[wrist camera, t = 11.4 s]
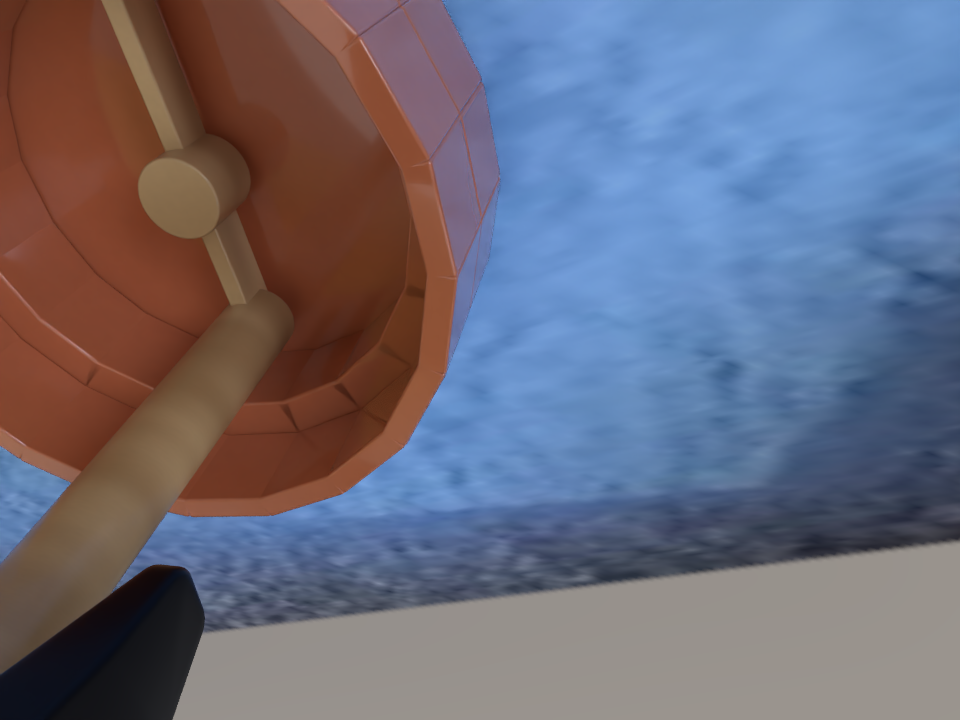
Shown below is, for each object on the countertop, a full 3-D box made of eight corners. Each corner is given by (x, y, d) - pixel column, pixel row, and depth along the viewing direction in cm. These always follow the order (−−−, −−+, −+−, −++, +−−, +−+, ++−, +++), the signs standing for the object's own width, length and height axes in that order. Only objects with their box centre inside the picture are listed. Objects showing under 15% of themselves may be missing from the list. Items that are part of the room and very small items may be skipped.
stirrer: (95, -20, 18) (-1257, 363, 5) (172, -38, 17) (-1119, 337, 5) (247, 341, 23) (-255, 984, 10) (311, 335, 22) (-134, 1005, 10)
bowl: (610, 30, 17) (594, 111, 13) (384, 447, 26) (321, 596, 21) (-8, -313, 16) (-301, -373, 11) (-40, 246, 24) (-217, 354, 19)
